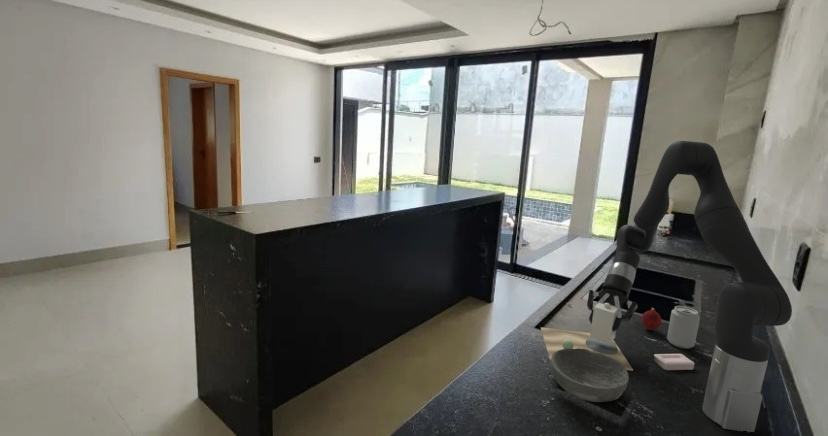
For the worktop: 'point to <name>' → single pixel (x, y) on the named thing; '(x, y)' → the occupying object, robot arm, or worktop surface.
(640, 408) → the worktop surface
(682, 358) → the soap bar
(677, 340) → the can
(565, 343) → the ball
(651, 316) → the onion
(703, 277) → the worktop surface
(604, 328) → the small milk carton
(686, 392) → the worktop surface
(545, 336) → the board
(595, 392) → the bowl
